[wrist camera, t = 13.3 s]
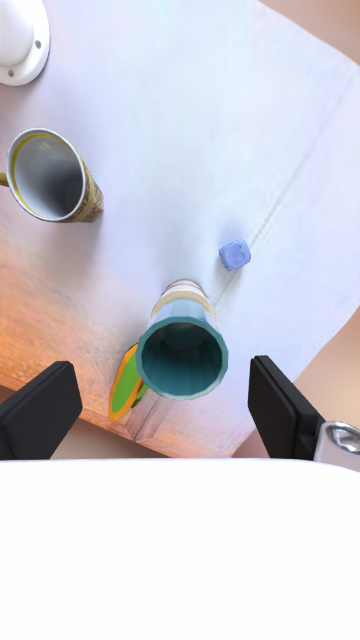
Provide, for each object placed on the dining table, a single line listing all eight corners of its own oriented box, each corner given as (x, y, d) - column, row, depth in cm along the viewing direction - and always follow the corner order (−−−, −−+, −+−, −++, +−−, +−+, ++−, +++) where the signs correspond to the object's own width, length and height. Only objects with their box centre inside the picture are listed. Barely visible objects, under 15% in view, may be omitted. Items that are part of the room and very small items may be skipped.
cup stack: (161, 280, 37) (145, 290, 22) (205, 278, 36) (218, 288, 22) (164, 321, 39) (151, 356, 24) (205, 320, 39) (217, 354, 24)
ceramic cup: (112, 169, 32) (81, 129, 22) (115, 234, 35) (88, 223, 25) (35, 166, 32) (-29, 124, 23) (44, 231, 35) (-10, 218, 25)
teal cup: (152, 296, 22) (130, 317, 14) (212, 294, 22) (229, 314, 13) (156, 351, 24) (140, 400, 15) (212, 350, 24) (227, 399, 15)
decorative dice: (238, 240, 34) (244, 236, 31) (246, 261, 35) (253, 260, 31) (217, 250, 35) (221, 248, 31) (225, 270, 36) (230, 271, 32)
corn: (162, 363, 33) (122, 444, 38) (168, 346, 40) (134, 416, 46) (122, 344, 33) (88, 428, 38) (136, 331, 40) (105, 403, 45)
